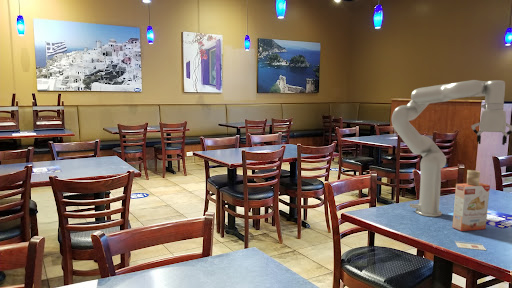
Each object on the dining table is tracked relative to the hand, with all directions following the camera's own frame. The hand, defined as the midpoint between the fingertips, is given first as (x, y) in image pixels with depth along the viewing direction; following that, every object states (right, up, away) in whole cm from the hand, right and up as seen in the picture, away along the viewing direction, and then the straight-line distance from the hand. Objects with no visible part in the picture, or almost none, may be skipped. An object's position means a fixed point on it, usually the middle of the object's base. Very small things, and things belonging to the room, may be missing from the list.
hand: (491, 144), depth 180 cm
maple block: (-11, -18, -5) cm, 22 cm away
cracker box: (-12, -39, -2) cm, 41 cm away
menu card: (-23, -41, -24) cm, 53 cm away
